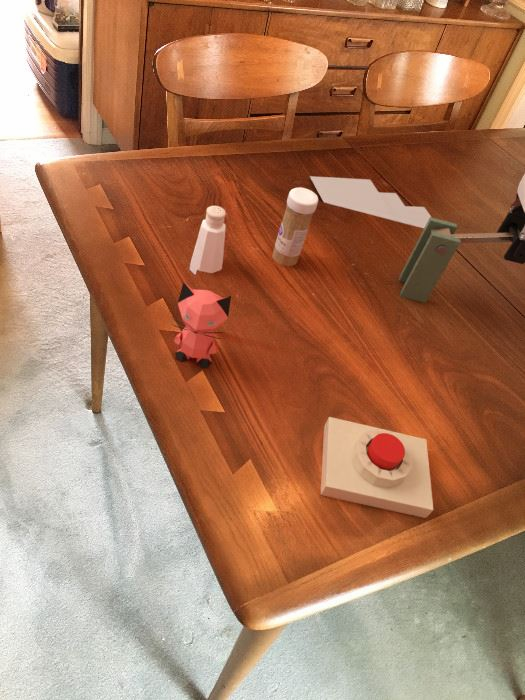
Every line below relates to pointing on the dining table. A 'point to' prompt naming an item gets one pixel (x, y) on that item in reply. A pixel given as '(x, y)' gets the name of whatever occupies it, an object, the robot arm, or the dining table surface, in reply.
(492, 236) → the lever
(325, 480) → the control block
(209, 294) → the cat figurine
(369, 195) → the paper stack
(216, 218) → the pepper shaker
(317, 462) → the dining table surface
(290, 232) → the sprinkles bottle
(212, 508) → the dining table surface
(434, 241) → the bracket
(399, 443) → the button
